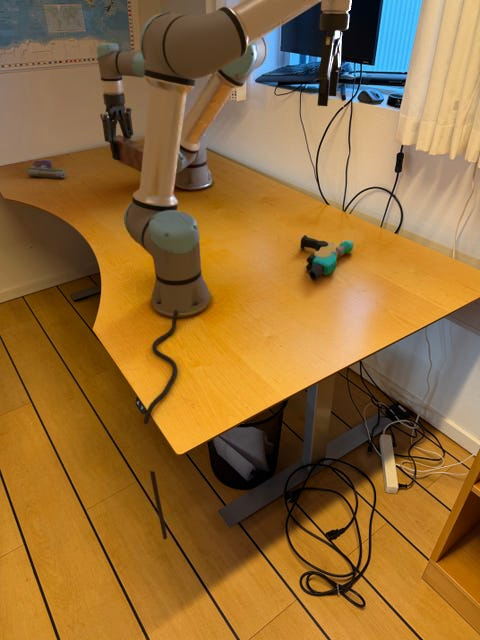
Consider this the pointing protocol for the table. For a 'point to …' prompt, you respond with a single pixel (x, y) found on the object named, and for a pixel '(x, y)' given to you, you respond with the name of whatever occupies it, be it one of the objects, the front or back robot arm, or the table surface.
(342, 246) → the toy gun
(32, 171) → the toy gun
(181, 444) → the table surface
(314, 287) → the table surface
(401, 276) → the table surface
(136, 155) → the bar
